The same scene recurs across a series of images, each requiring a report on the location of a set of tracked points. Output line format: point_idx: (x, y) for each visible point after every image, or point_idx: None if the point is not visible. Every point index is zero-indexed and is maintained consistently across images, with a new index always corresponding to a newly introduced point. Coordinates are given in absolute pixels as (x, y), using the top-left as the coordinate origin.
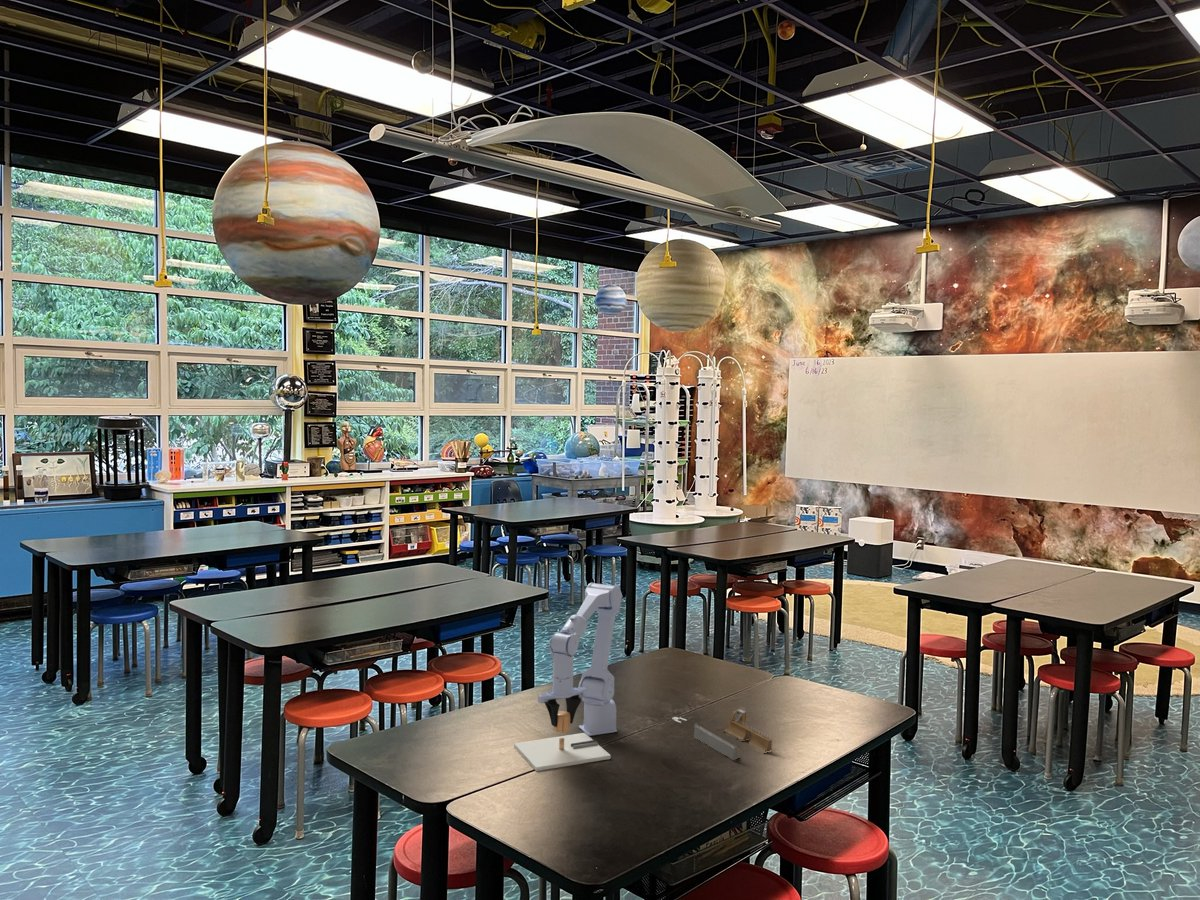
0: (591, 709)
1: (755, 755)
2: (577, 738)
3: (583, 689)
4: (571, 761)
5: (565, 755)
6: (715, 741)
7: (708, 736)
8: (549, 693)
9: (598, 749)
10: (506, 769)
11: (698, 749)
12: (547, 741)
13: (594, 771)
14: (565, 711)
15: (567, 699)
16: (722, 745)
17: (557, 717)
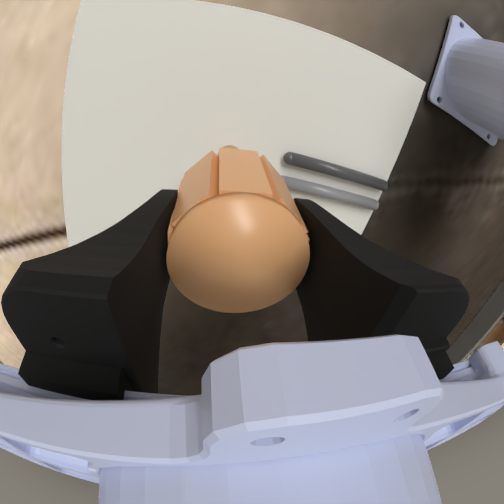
0: None
1: None
2: (366, 104)
3: (461, 432)
4: None
5: None
6: (478, 334)
7: (492, 320)
8: (50, 427)
9: None
10: (3, 188)
11: (467, 311)
12: (228, 42)
13: (231, 314)
14: (303, 234)
15: (365, 319)
16: (466, 347)
17: (164, 293)
